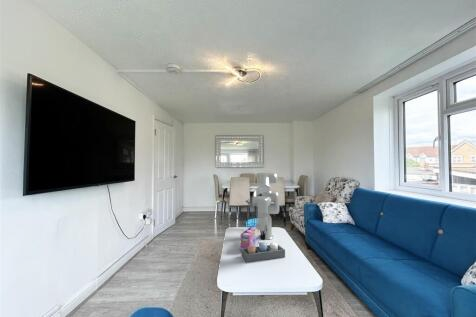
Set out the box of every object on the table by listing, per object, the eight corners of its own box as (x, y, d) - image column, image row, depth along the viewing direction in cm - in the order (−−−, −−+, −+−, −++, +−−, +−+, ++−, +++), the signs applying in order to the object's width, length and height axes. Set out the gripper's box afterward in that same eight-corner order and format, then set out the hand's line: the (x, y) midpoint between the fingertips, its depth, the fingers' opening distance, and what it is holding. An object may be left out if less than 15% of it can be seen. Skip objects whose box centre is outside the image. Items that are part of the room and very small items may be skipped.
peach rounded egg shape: (246, 254, 164) (246, 245, 164) (253, 253, 166) (253, 245, 166) (249, 257, 159) (249, 248, 159) (256, 256, 161) (256, 247, 161)
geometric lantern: (252, 227, 241) (253, 194, 241) (264, 230, 231) (265, 196, 231) (243, 230, 229) (244, 196, 229) (256, 233, 219) (257, 198, 219)
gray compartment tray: (241, 255, 166) (241, 248, 167) (277, 251, 175) (277, 244, 175) (246, 262, 155) (246, 254, 155) (285, 257, 164) (285, 249, 164)
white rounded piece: (269, 251, 170) (269, 243, 170) (275, 250, 171) (275, 242, 171) (272, 254, 164) (272, 245, 164) (279, 253, 166) (279, 245, 166)
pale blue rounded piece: (258, 250, 167) (258, 242, 167) (264, 249, 169) (264, 241, 169) (260, 253, 162) (260, 245, 162) (268, 252, 163) (267, 244, 163)
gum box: (251, 241, 197) (251, 226, 197) (260, 242, 194) (259, 227, 194) (240, 251, 175) (240, 233, 176) (249, 253, 172) (249, 235, 172)
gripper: (254, 213, 172) (254, 237, 171) (262, 217, 157) (262, 243, 157) (263, 212, 174) (263, 236, 173) (271, 216, 159) (271, 242, 159)
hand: (262, 239), depth 165 cm, fingers closed
